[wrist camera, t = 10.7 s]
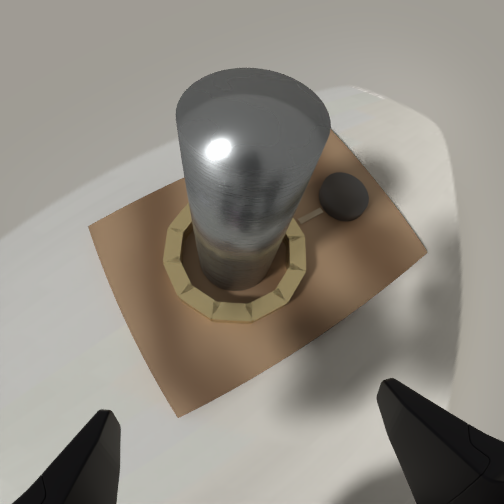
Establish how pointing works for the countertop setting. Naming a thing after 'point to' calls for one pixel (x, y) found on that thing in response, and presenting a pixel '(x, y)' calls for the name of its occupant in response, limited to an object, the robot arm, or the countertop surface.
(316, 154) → the steel peg
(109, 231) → the board
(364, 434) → the countertop surface
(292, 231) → the brass ring
